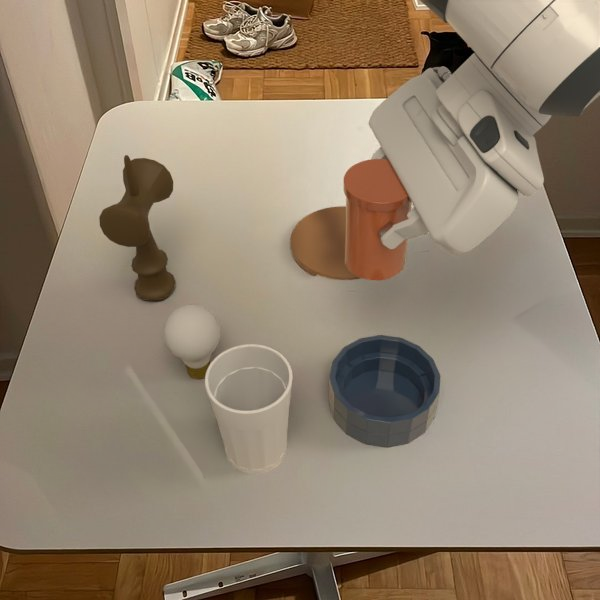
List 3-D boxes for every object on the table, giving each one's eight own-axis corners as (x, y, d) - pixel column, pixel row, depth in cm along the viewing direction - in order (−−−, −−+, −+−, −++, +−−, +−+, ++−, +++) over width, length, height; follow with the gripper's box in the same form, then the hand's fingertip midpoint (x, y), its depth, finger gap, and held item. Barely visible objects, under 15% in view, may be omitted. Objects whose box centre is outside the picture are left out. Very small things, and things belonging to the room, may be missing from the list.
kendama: (189, 265, 95) (166, 132, 81) (167, 319, 88) (139, 185, 74) (144, 260, 96) (114, 127, 81) (120, 314, 89) (82, 180, 75)
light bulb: (235, 363, 84) (228, 302, 76) (209, 402, 80) (199, 342, 73) (190, 347, 85) (179, 286, 78) (163, 384, 82) (148, 324, 74)
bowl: (389, 349, 85) (392, 320, 81) (456, 415, 78) (463, 387, 75) (309, 394, 80) (309, 365, 77) (373, 468, 74) (376, 441, 70)
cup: (202, 446, 76) (187, 373, 67) (263, 404, 80) (256, 330, 71) (249, 499, 72) (239, 429, 63) (311, 453, 75) (310, 380, 67)
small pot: (381, 229, 79) (386, 150, 71) (421, 265, 75) (432, 185, 67) (328, 253, 76) (329, 174, 69) (367, 292, 72) (373, 212, 65)
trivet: (353, 199, 104) (354, 193, 103) (419, 254, 96) (419, 248, 95) (270, 237, 99) (270, 231, 98) (331, 298, 90) (332, 292, 90)
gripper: (421, 40, 71) (322, 142, 76) (512, 160, 57) (383, 274, 62) (458, 76, 75) (361, 170, 80) (553, 197, 61) (428, 301, 66)
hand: (371, 217), depth 71 cm, fingers closed on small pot, 6 cm apart
